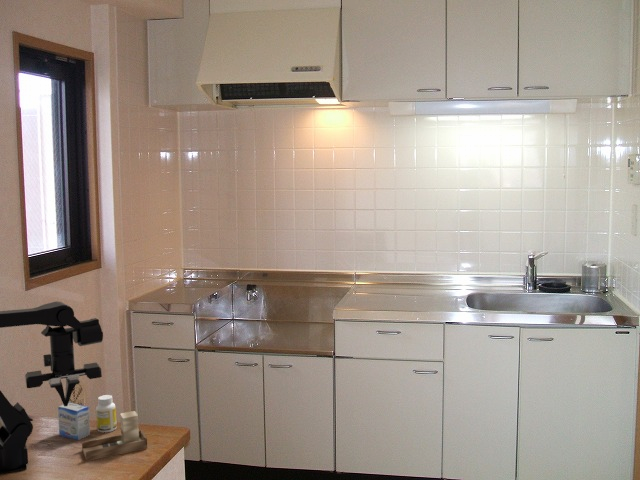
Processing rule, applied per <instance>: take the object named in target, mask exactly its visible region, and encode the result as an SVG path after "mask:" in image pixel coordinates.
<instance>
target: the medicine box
mask: <svg viewBox="0 0 640 480" xmlns="http://www.w3.org/2000/svg"><path fill="white" fill-rule="evenodd" d="M89 409H90V407H89V406H86V405H81V404H77V403H72V402H69V403H68V406H65V407H64V405H63V404H61V405H59V406H58V407H57V411H58V413H57V414H58V435H59V436H60V437H65V438H68V439H72V440H77V441H80V440H82V439H81V438H83V439H85V438H87V437H88V435H89V436H91V433H90V432H91V428H90V427H91V426H90V410H89ZM86 436H87V437H86ZM84 437H85V438H84Z"/></svg>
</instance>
